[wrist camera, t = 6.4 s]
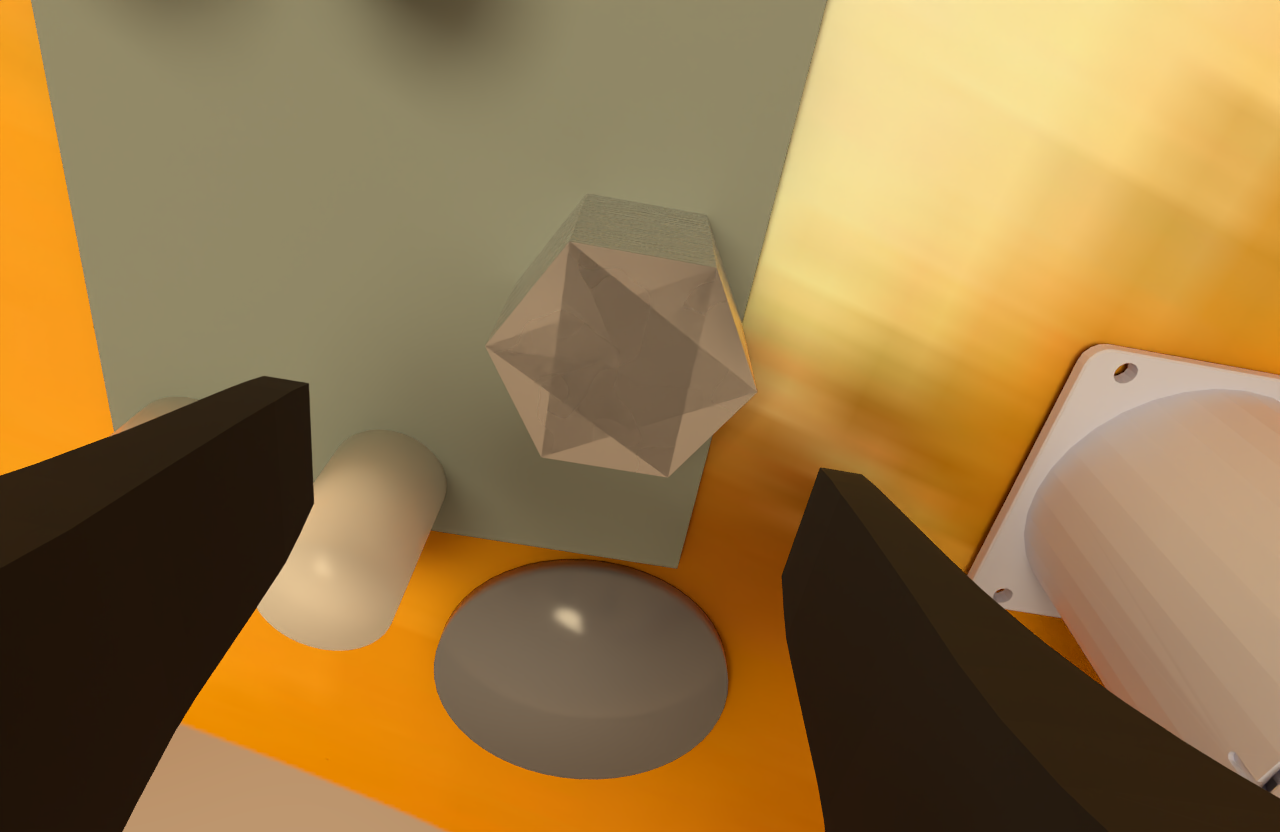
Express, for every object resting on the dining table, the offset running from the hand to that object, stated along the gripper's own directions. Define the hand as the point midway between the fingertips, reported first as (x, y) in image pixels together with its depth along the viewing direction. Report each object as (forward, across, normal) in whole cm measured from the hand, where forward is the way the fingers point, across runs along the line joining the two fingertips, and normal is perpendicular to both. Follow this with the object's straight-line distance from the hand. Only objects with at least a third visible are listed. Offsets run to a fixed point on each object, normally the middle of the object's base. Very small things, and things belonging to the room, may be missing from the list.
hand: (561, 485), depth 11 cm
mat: (+8, +4, 0) cm, 9 cm away
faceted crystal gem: (+8, -1, 0) cm, 8 cm away
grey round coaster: (+8, -1, +12) cm, 15 cm away
